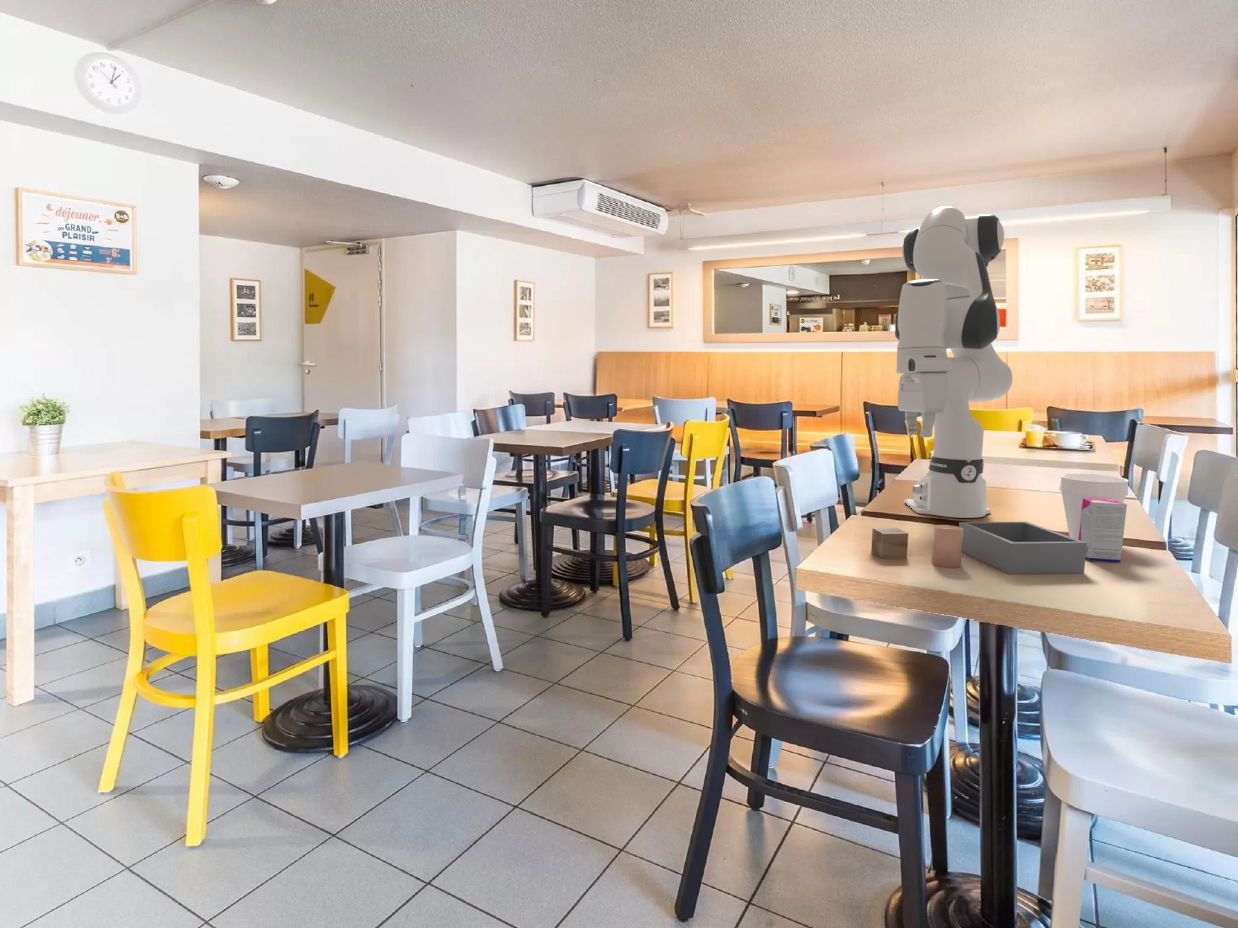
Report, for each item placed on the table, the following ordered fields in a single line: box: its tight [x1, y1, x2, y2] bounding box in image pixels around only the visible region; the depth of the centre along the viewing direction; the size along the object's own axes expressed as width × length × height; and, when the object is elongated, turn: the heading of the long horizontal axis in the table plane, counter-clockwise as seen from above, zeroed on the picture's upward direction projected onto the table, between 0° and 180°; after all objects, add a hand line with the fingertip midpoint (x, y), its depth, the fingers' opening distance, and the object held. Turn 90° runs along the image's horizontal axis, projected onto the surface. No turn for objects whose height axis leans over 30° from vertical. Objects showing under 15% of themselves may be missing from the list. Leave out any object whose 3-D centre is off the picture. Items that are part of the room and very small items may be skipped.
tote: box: [958, 521, 1087, 575], centre depth 141 cm, size 18×14×6 cm
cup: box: [1058, 473, 1130, 540], centre depth 157 cm, size 12×12×14 cm
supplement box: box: [1078, 498, 1128, 563], centre depth 143 cm, size 6×6×12 cm
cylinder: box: [931, 524, 963, 569], centre depth 138 cm, size 5×5×7 cm
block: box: [870, 527, 909, 560], centre depth 145 cm, size 5×5×5 cm
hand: (919, 435), depth 144 cm, fingers open, 8 cm apart
